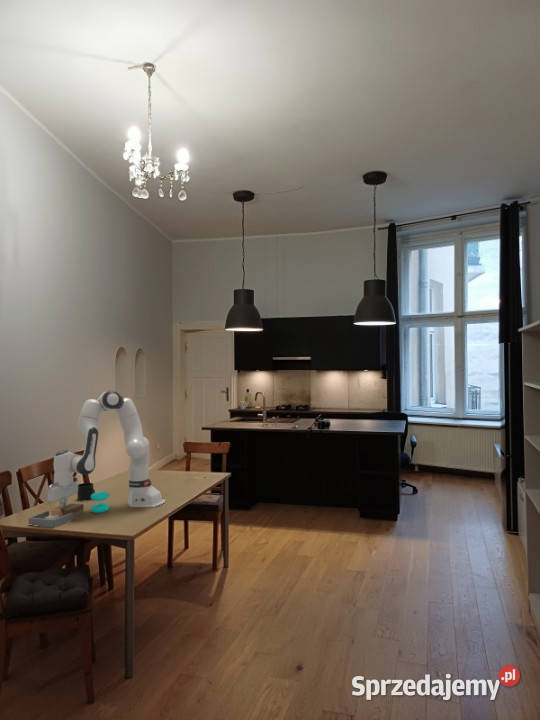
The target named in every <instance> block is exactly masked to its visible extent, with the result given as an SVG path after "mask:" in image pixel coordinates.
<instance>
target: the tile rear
mask: <svg viewBox="0 0 540 720" xmlns="http://www.w3.org/2000/svg"><path fill="white" fill-rule="evenodd" d="M50 514H51V515H59V517H62V516H63V514H62V511H61V509H58V508H56V507H53V508H52V509H50Z"/></svg>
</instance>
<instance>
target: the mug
mask: <svg viewBox="0 0 540 720" xmlns="http://www.w3.org/2000/svg"><path fill="white" fill-rule="evenodd" d="M93 493H96V491H95V489H94V483H93V482H82V483H78V492H77V494H76V496H77V501H79V500H87V501H91V500H92V499H91V495H92V494H93Z"/></svg>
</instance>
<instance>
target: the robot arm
mask: <svg viewBox="0 0 540 720" xmlns="http://www.w3.org/2000/svg"><path fill="white" fill-rule="evenodd" d="M111 410H114V411H116V413H117V416H118V418H119V419H118V420H119V422H120V425H121V429H122V432H123V438H124V443H125V449H126V454H127V455H128V457H130V460H129V466H128V467H129V469H128V470H129V471H128V472H129V473H128V474H129V480H128V487H129V488H128V489H129V494H128V500H127V502H126V503H127V505H128V506H129V507H130V508H157V507H159V505H160V506H162V505H164V504H165V503H166V502H165V501H166V499H162V493H161V492H160V490H158V489H157V488H156V487H154V485H152V483H153V480H151V479H150V478H149V477H150V475H149V459H150V441H149V440H148V438H147V437H145V436H144V435H143V427H142V423H141V419H140V417H139V414H138V410H137V407H136V406H135V404H134V401H133V400H132V398H130V397H123V396H122V395H121V394H120V393H119V392H117V391H116V390H108V391H104V392H102V393H101V394H100V395H98V397H97V398H95V399H94V398H92V399H91V398H90V399H87V400H86V401H84V403H83V406H82V408H81V411H80V412H79V417H78V419H77V428H78V430H79V432H80V433H81V434H82V435H84V439H85V444H84V450H83V454H82V455H81V454H77V453H76V454H75V453H74V452H72V451H69V450H60V451H57V452H56V453H55V455H54V457H53V471H54V474H53V483H52V484H50V485H49V486H48V491H47V502H48V503H54V502H59V506H60V507H63V506H66V503H68V499H69V497H70V496H74V495H77V492H78V484H79V483H78V480H79V479H78V477H77V476H72V473H73V472H75V473H77V474H81V475H82V476H83V475H84V476H89V475H90V474H92V473H93V472H94V471H95V468H96V463H97V462H96V455H97V454H96V452H97V445H98V440H99V439H98V438H99V431H98V428H99V422H100V418H101V414H102V413H103V412H104V411H111ZM163 503H164V504H163ZM161 504H162V505H161ZM156 506H157V507H156Z"/></svg>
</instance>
